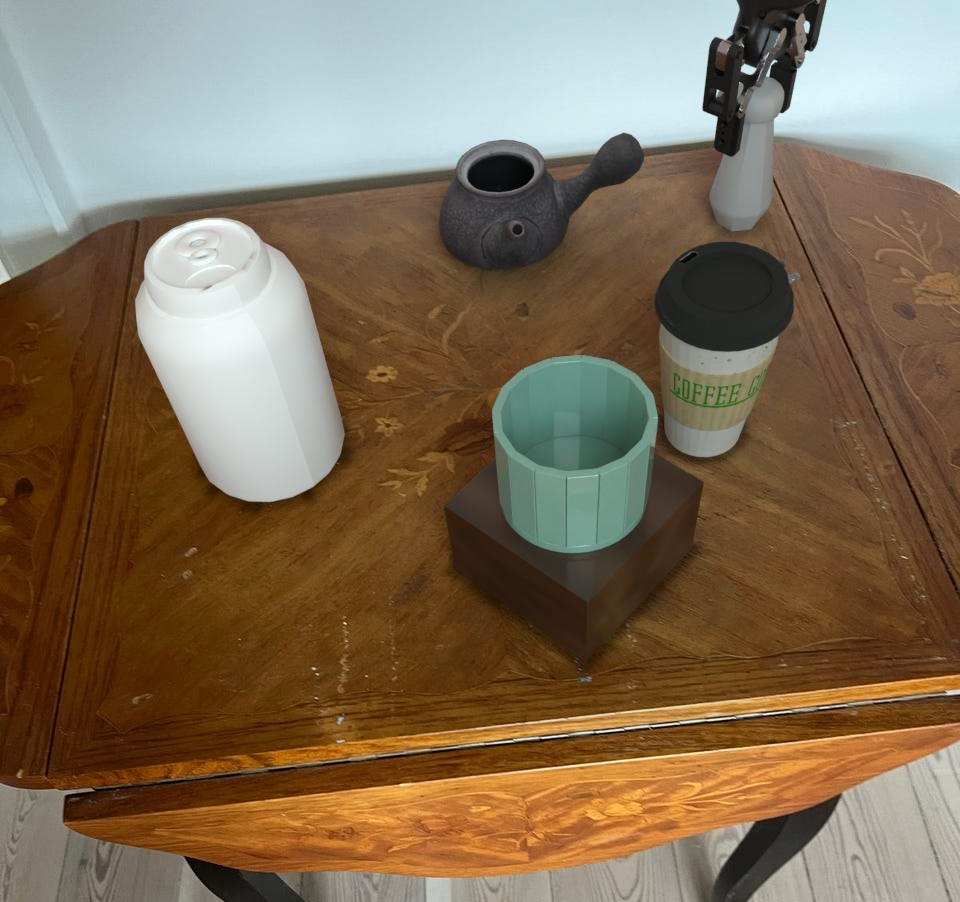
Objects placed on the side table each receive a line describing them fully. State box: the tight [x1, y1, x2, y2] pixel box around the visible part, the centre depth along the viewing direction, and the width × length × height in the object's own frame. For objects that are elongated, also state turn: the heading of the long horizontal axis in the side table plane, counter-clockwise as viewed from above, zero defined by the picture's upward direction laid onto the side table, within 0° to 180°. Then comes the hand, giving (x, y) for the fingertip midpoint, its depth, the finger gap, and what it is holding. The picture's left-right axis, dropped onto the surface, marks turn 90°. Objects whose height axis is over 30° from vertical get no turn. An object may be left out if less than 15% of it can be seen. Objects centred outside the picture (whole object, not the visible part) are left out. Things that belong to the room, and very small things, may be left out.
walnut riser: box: [443, 452, 705, 663], centre depth 74 cm, size 13×13×8 cm
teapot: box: [438, 132, 645, 271], centre depth 92 cm, size 19×15×10 cm
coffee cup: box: [653, 241, 795, 458], centre depth 77 cm, size 10×10×15 cm
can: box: [134, 217, 346, 503], centre depth 77 cm, size 12×12×20 cm
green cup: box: [491, 354, 659, 553], centre depth 67 cm, size 10×10×8 cm
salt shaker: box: [709, 75, 784, 232], centre depth 91 cm, size 6×6×13 cm
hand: (751, 129), depth 88 cm, fingers open, 7 cm apart
